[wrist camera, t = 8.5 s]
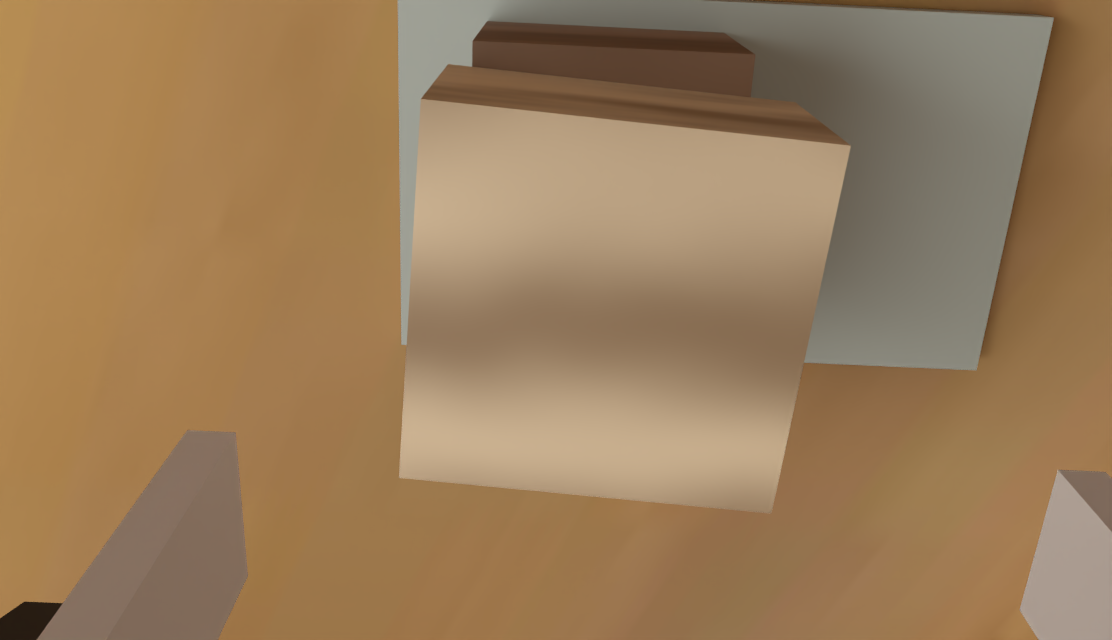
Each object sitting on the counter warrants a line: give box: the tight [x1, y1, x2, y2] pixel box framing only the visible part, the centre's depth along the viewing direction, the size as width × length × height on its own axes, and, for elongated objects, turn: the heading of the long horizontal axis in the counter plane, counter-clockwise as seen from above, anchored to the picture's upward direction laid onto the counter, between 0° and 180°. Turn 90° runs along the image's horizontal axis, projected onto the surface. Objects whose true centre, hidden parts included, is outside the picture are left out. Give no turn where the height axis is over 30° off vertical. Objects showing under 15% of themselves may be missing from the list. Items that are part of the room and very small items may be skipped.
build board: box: [398, 0, 1054, 370], centre depth 37 cm, size 13×22×1 cm, turn 87°
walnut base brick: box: [472, 21, 755, 97], centre depth 33 cm, size 12×8×6 cm, turn 177°
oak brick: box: [399, 64, 851, 513], centre depth 28 cm, size 10×10×6 cm
